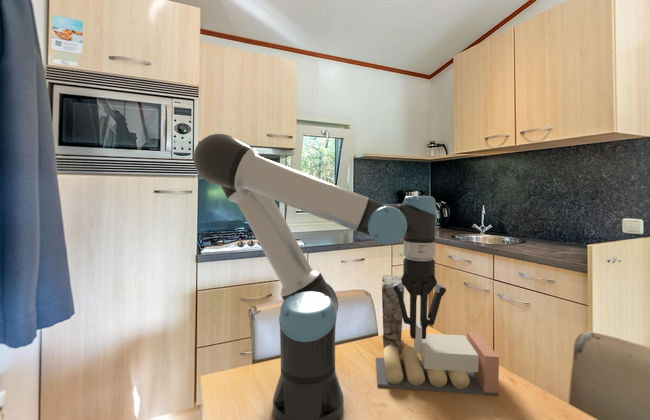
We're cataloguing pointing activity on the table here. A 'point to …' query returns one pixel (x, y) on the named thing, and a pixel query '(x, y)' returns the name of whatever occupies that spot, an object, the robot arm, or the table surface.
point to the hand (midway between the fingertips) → (417, 350)
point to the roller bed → (426, 382)
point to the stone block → (391, 312)
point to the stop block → (485, 363)
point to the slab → (448, 353)
